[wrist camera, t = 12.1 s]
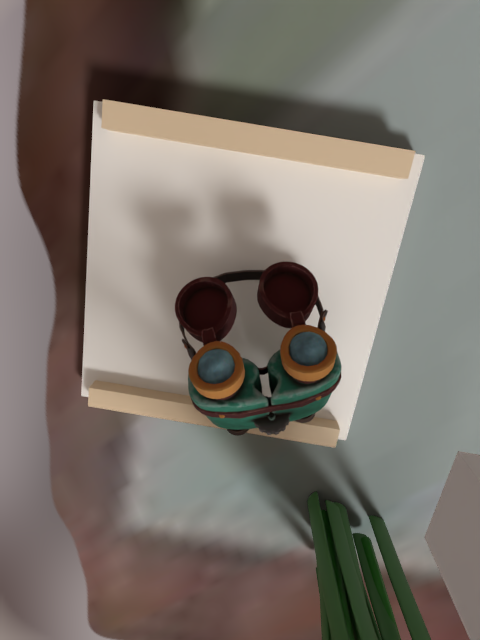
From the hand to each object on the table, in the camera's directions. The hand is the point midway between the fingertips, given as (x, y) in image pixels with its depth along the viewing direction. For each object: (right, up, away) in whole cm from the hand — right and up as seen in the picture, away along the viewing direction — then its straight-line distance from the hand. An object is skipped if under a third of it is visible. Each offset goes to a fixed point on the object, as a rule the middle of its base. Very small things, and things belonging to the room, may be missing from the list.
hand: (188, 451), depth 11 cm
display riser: (+1, +6, +19) cm, 20 cm away
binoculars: (+2, +6, +18) cm, 19 cm away
